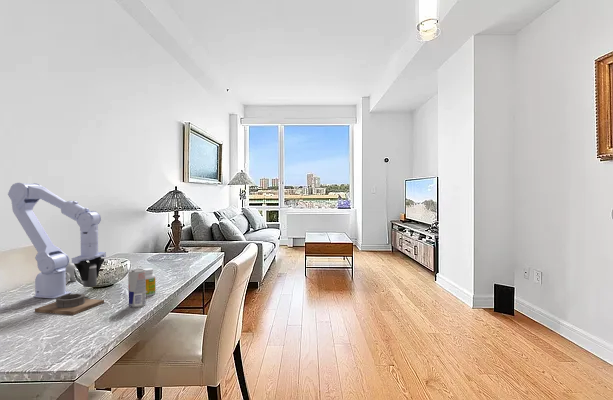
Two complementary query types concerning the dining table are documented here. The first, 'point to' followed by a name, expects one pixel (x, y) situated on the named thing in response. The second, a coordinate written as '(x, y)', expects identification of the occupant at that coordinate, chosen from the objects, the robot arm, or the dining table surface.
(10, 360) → the dining table surface
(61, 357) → the dining table surface
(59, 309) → the mount
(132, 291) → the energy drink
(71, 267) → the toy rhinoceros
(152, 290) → the supplement bottle
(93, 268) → the lens
